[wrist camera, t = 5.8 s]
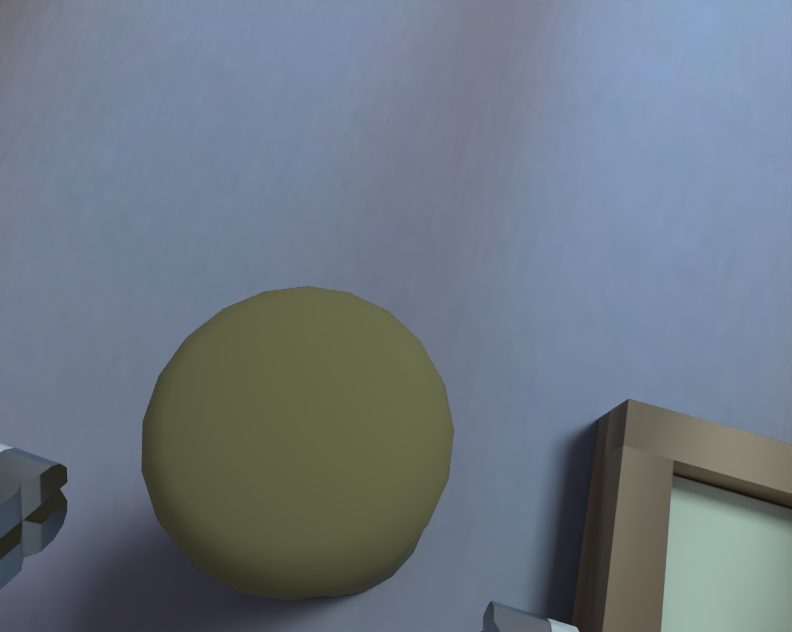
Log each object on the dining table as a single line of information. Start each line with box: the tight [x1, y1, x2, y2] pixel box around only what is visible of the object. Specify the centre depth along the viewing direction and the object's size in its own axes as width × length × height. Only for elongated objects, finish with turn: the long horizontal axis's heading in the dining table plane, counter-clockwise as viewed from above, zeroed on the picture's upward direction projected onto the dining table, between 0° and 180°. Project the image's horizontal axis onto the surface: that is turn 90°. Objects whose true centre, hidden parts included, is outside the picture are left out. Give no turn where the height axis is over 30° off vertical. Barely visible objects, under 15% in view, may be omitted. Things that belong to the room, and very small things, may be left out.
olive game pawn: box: [142, 286, 454, 601], centre depth 13 cm, size 6×6×11 cm
